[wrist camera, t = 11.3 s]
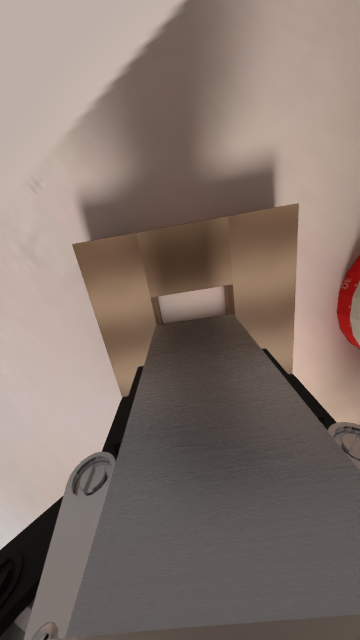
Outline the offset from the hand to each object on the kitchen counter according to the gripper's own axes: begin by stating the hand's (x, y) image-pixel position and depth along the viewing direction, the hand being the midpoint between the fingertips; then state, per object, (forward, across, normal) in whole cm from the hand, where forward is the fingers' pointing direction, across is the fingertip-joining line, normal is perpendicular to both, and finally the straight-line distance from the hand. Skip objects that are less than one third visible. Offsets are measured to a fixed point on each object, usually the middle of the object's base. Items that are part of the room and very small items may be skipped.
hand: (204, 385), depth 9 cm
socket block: (+11, 0, 0) cm, 11 cm away
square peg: (+3, 0, 0) cm, 3 cm away
